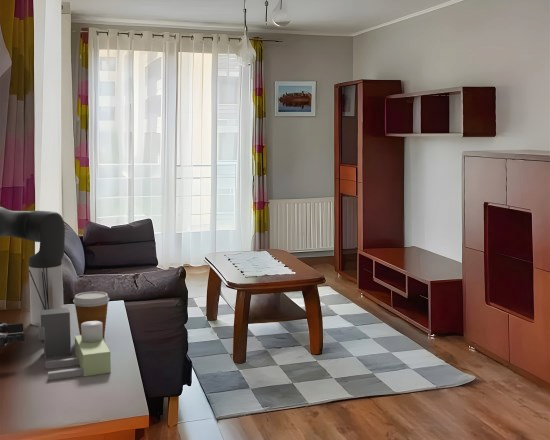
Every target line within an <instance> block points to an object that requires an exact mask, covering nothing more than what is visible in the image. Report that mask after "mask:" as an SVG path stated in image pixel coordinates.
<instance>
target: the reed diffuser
mask: <svg viewBox="0 0 550 440" xmlns="http://www.w3.org/2000/svg"><path fill="white" fill-rule="evenodd" d="M29 272H30V270H29V269H28V273H29ZM43 274H44V279H43ZM30 275H31V272H30ZM31 277H32V275H31ZM46 279H47V289H46V281H45V273H44V268H43V272H42V280H43V289H44V298H45V289H46V297H47V305H48V309H49V301H48V278H47V266H46ZM32 280H33V282H34V279H33V277H32ZM44 281H45V288H44ZM34 285H35V287H36V284H35V282H34ZM36 290H37V292H38V289H37V287H36ZM38 294H39V292H38ZM39 297H40V294H39ZM40 299H41V297H40ZM41 302H42V299H41ZM42 304H43V302H42ZM43 307H44V309H45V308H46V298H45V306H44V304H43ZM45 310H47V308H46V309H45ZM37 328H38V338H39V339H40V340H44V336H43V327H41V325H40V323H39V325H38V326H37Z"/></svg>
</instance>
